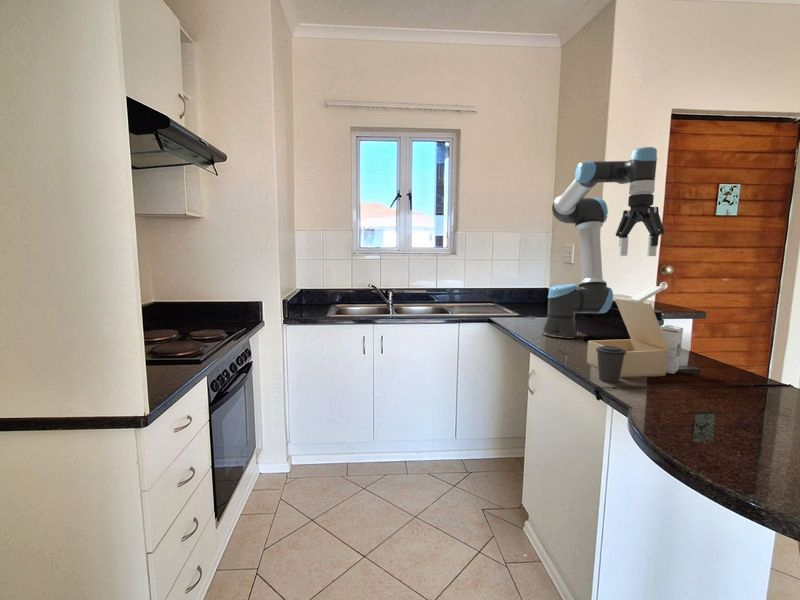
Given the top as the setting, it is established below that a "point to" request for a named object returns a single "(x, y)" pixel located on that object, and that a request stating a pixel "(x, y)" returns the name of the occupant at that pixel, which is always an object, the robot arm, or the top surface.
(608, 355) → the coffee cup
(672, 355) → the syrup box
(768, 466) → the top surface
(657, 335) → the lid flap
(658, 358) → the carton
